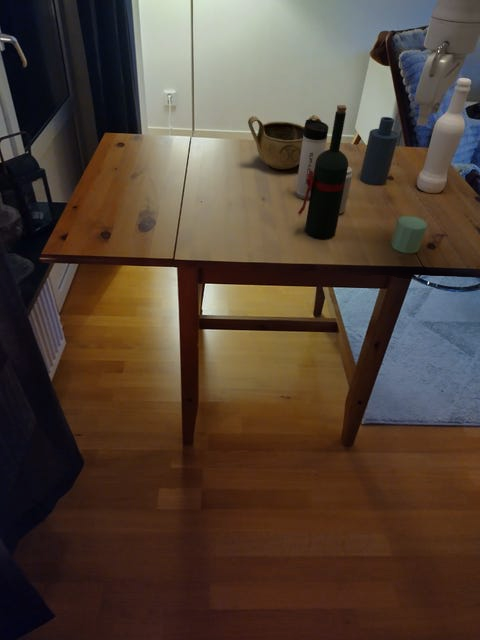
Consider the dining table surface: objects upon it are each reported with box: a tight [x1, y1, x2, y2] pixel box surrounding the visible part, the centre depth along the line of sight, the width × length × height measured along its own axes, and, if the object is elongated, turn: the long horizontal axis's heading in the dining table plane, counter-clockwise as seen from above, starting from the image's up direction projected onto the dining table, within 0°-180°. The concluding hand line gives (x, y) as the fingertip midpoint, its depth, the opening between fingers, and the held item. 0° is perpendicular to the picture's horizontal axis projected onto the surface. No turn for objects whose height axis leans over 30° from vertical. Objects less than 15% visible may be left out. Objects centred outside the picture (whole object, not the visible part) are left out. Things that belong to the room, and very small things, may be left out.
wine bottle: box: [297, 104, 349, 241], centre depth 106 cm, size 8×10×30 cm
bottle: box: [416, 77, 472, 194], centre depth 129 cm, size 8×8×30 cm
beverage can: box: [339, 165, 353, 215], centre depth 121 cm, size 6×6×12 cm
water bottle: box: [359, 116, 399, 186], centre depth 135 cm, size 8×8×18 cm
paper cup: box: [390, 215, 428, 254], centre depth 111 cm, size 7×7×6 cm
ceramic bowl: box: [247, 114, 322, 170], centre depth 142 cm, size 22×17×15 cm
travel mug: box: [295, 118, 329, 201], centre depth 125 cm, size 6×7×20 cm
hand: (427, 118), depth 91 cm, fingers open, 8 cm apart
